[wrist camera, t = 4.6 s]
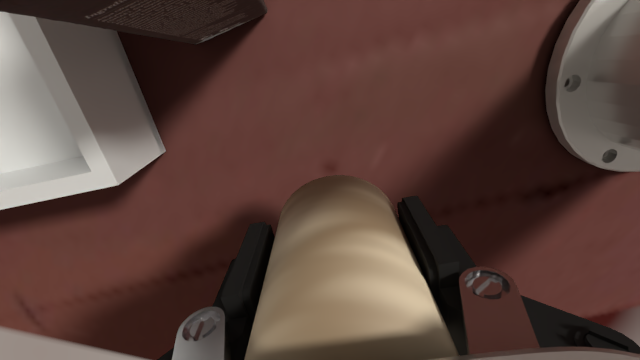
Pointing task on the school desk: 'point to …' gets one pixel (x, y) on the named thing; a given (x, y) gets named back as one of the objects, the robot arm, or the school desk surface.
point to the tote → (68, 111)
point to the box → (146, 15)
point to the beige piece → (345, 282)
